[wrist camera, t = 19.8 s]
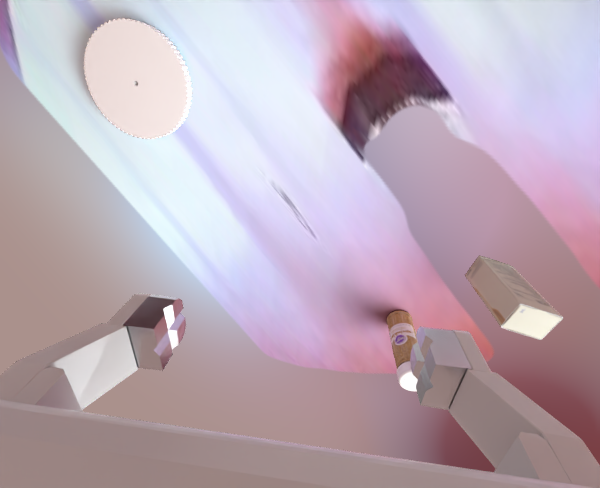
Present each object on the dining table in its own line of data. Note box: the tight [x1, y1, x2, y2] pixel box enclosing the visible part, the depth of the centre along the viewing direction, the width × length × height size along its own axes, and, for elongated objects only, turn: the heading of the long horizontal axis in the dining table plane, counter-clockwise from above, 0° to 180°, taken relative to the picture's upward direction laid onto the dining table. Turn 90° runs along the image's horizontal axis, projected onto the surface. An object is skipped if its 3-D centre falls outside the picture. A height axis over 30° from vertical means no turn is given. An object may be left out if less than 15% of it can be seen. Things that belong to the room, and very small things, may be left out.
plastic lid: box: [84, 18, 192, 139], centre depth 41 cm, size 14×14×2 cm
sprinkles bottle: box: [387, 311, 418, 391], centre depth 50 cm, size 5×5×14 cm
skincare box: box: [465, 256, 563, 340], centre depth 44 cm, size 6×4×12 cm
